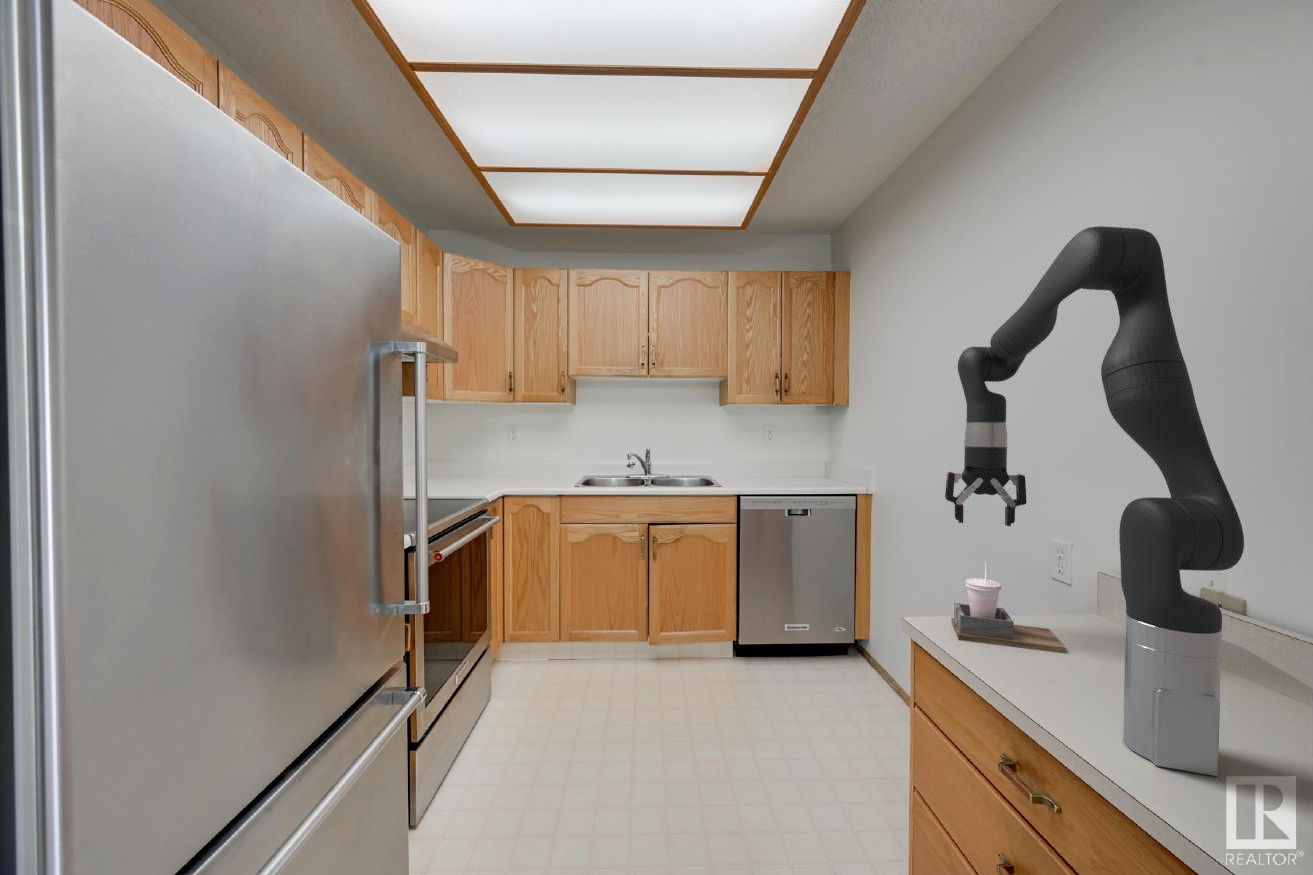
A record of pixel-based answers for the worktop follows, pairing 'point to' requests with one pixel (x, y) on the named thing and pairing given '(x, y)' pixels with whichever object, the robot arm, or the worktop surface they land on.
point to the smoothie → (983, 596)
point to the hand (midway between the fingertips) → (984, 524)
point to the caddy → (1002, 631)
